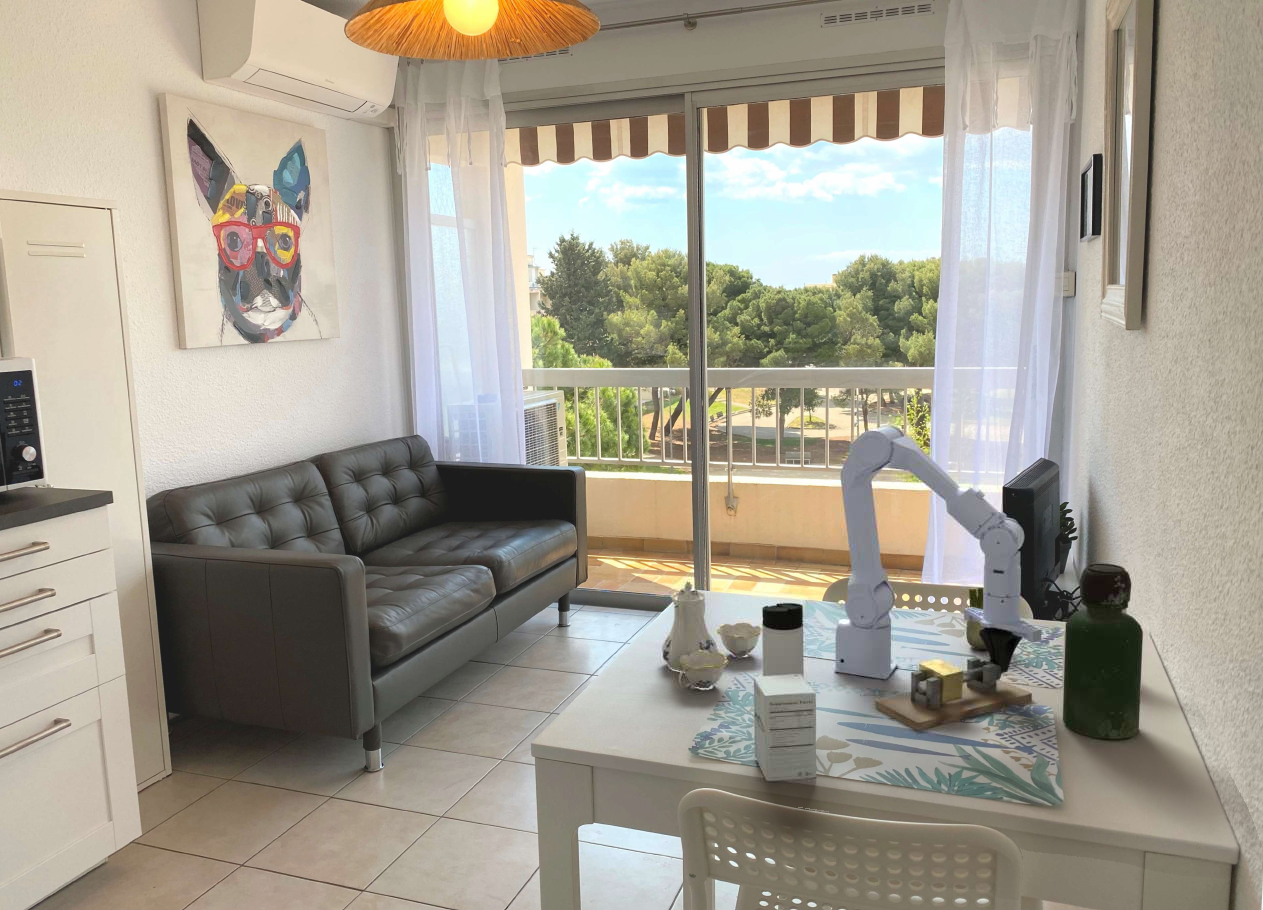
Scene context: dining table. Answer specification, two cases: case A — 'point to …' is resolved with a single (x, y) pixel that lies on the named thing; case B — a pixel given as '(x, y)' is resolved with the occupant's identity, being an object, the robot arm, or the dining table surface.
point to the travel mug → (782, 639)
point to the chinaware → (702, 640)
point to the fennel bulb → (973, 626)
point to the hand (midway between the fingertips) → (1000, 671)
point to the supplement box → (785, 727)
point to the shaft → (968, 674)
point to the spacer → (945, 678)
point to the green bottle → (1103, 658)
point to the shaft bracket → (975, 700)
